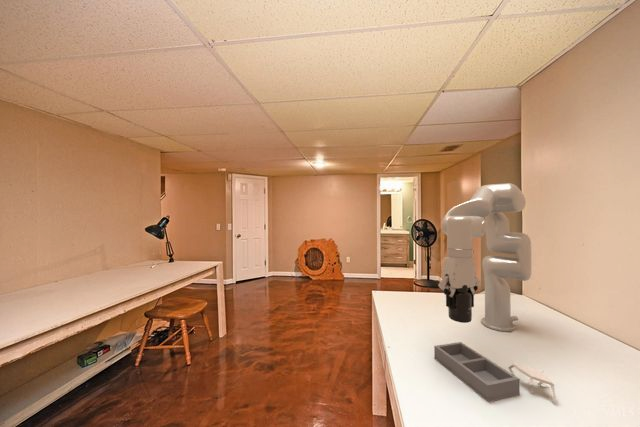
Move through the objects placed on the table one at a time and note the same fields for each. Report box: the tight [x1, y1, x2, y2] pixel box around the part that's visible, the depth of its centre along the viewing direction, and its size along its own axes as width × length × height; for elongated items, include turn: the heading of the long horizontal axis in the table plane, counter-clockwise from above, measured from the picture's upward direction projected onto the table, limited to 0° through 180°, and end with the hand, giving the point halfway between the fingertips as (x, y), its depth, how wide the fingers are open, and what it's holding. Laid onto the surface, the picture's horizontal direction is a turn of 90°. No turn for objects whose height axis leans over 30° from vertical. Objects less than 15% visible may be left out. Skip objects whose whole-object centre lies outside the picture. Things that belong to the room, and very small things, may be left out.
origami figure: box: [507, 362, 556, 403], centre depth 74 cm, size 12×8×5 cm
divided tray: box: [434, 341, 521, 403], centre depth 79 cm, size 11×21×4 cm, turn 14°
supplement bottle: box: [447, 285, 473, 324], centre depth 84 cm, size 7×7×12 cm
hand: (459, 306), depth 84 cm, fingers closed on supplement bottle, 6 cm apart
